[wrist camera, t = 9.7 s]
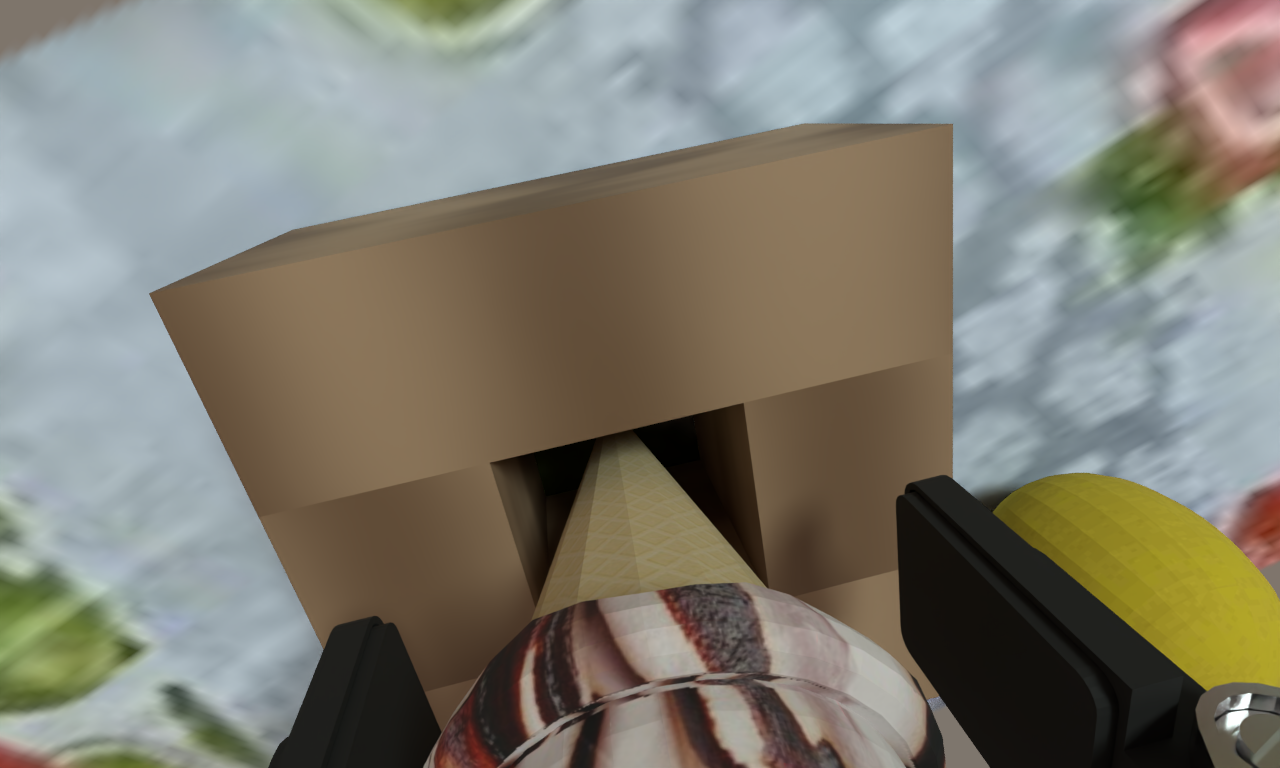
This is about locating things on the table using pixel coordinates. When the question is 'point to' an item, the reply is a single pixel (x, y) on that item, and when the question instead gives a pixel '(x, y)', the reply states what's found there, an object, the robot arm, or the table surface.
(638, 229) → the cone stand
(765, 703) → the ice cream cone
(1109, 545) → the lemon
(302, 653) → the table surface
